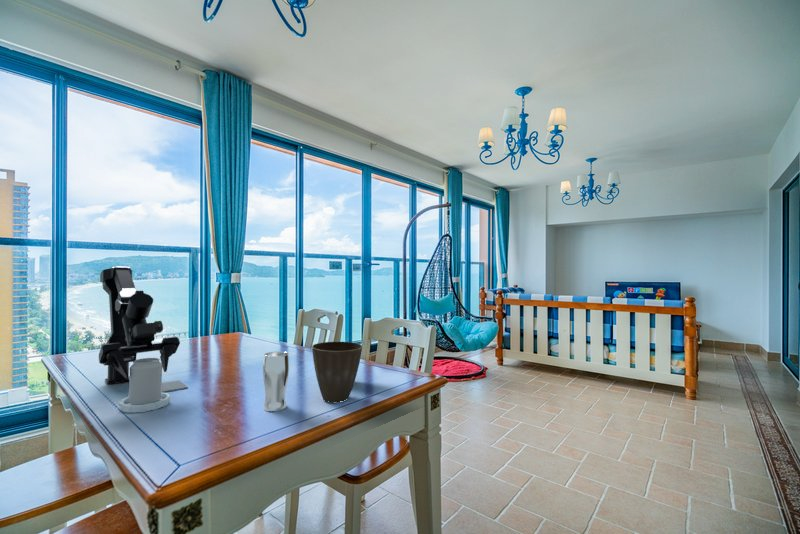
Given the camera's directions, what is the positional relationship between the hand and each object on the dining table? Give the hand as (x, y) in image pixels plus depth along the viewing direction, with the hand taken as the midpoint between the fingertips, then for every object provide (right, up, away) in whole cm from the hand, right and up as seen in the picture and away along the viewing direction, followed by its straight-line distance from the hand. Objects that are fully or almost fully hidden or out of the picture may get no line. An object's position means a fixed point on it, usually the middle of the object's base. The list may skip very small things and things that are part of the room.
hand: (147, 374), depth 105 cm
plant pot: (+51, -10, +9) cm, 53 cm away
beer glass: (+35, -10, +1) cm, 37 cm away
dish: (-1, -9, 0) cm, 9 cm away
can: (-1, -8, 0) cm, 8 cm away
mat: (-5, -9, +16) cm, 19 cm away
